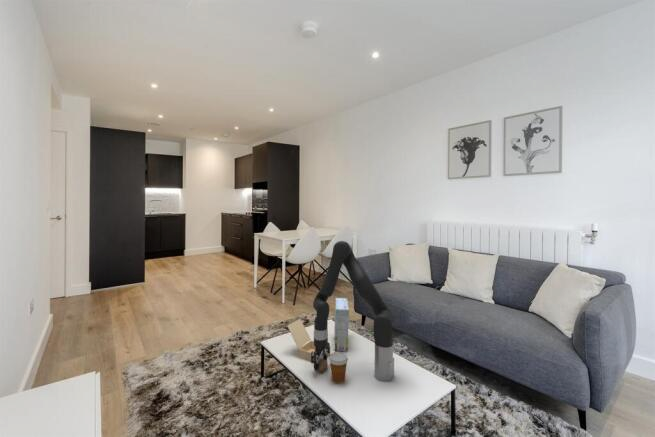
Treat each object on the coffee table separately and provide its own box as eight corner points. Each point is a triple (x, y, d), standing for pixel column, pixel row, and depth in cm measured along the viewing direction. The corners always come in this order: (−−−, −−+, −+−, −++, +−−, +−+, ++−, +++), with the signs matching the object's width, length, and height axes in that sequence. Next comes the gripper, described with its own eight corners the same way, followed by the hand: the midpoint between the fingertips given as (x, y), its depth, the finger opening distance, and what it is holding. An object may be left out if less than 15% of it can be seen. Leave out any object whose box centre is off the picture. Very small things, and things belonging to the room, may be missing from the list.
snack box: (349, 351, 180) (349, 309, 179) (334, 351, 181) (334, 309, 179) (347, 335, 202) (347, 297, 200) (334, 335, 202) (334, 297, 201)
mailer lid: (300, 318, 188) (299, 318, 188) (287, 325, 178) (287, 325, 178) (310, 339, 184) (310, 339, 184) (298, 347, 174) (298, 348, 174)
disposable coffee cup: (332, 386, 147) (332, 362, 146) (326, 375, 156) (326, 353, 156) (350, 383, 150) (350, 360, 149) (344, 372, 159) (344, 350, 158)
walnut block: (327, 369, 162) (327, 360, 162) (322, 374, 158) (322, 364, 158) (319, 366, 165) (319, 357, 164) (314, 371, 161) (314, 362, 160)
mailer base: (330, 354, 177) (330, 346, 177) (318, 364, 167) (318, 355, 166) (311, 348, 184) (311, 340, 184) (298, 357, 174) (298, 348, 174)
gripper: (322, 329, 168) (322, 357, 170) (306, 339, 157) (306, 369, 158) (334, 333, 164) (333, 361, 166) (318, 343, 152) (318, 374, 154)
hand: (320, 365), depth 162 cm, fingers open, 8 cm apart
